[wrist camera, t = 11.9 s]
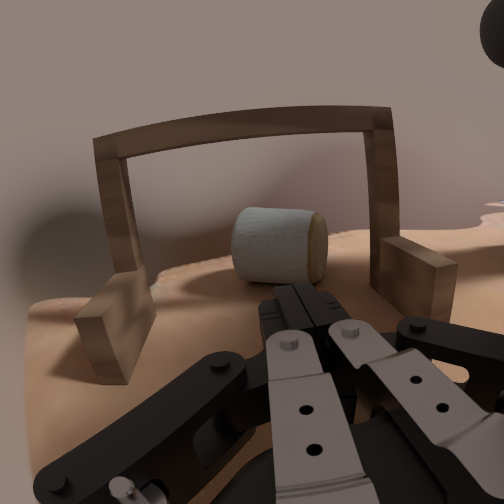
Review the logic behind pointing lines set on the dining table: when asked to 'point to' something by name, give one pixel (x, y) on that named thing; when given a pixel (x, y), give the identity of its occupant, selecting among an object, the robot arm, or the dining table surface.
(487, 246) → the dining table surface
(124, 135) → the wooden arch frame
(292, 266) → the ceramic mug
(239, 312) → the dining table surface
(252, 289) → the dining table surface
